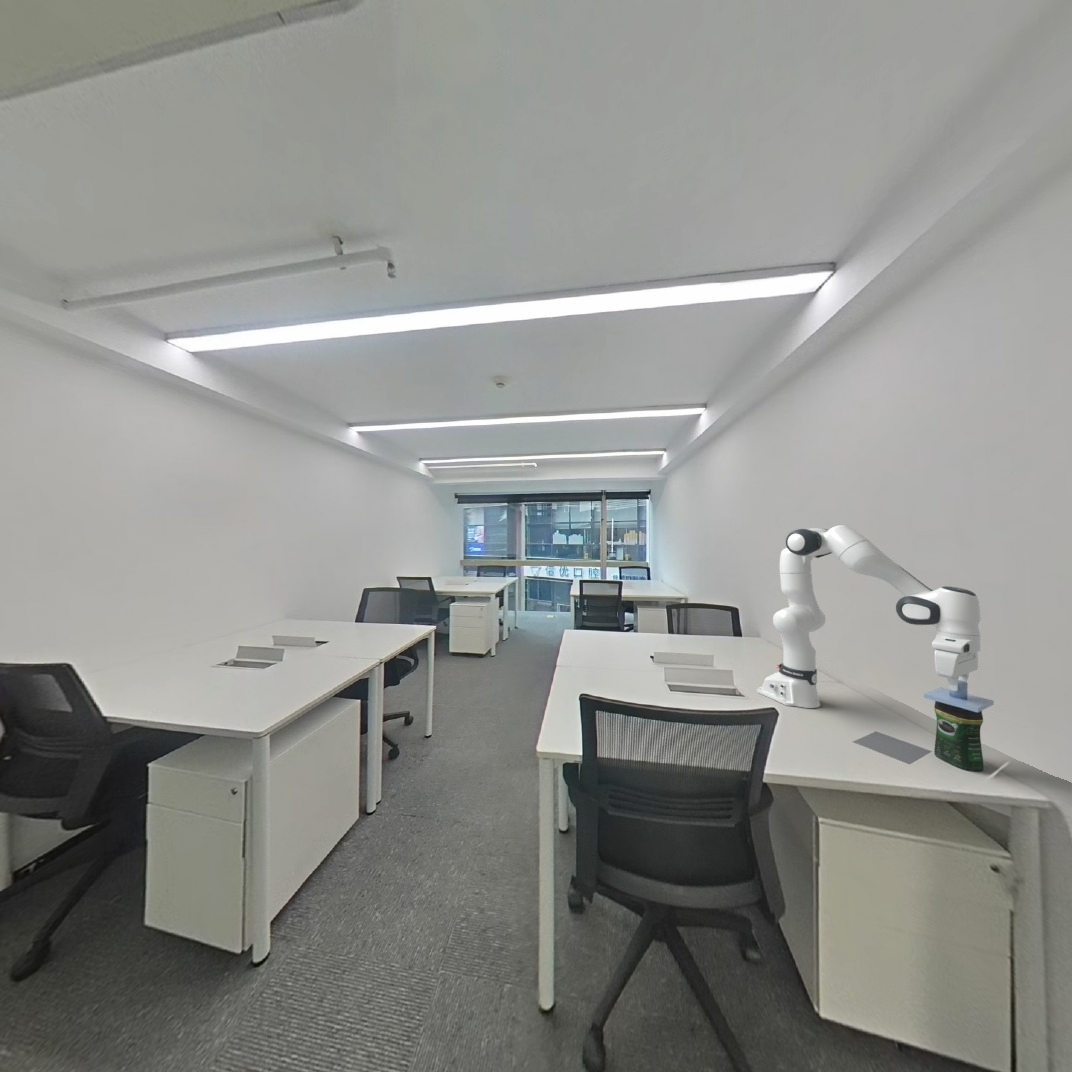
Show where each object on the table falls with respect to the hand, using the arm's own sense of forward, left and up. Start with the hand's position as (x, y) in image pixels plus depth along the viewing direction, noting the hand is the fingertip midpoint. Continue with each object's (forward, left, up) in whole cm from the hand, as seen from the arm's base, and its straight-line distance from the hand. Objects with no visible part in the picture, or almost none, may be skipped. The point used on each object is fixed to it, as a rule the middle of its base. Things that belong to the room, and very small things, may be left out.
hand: (957, 688), depth 115 cm
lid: (0, 0, -4) cm, 4 cm away
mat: (-13, -7, -22) cm, 27 cm away
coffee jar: (0, 0, -22) cm, 23 cm away
